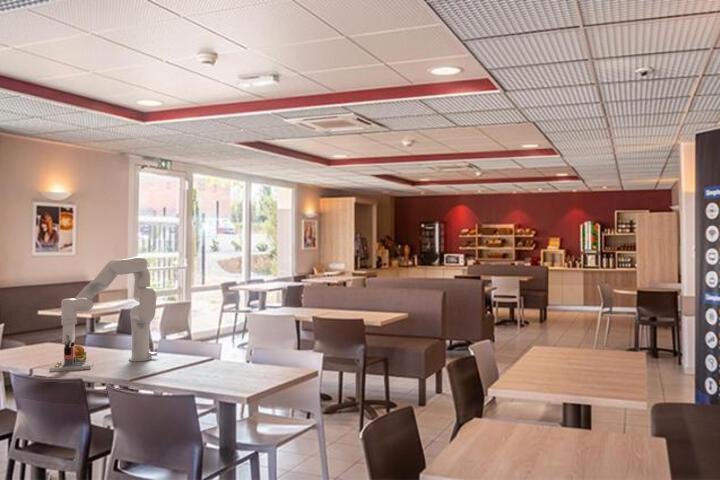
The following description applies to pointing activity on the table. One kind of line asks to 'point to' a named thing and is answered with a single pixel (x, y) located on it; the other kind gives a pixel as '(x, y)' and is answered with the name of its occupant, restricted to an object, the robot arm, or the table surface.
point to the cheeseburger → (80, 353)
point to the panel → (71, 366)
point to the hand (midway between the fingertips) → (69, 353)
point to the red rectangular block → (71, 353)
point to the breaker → (69, 361)
